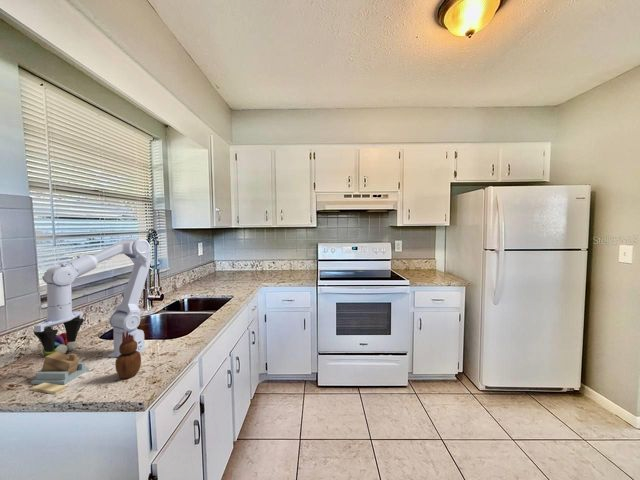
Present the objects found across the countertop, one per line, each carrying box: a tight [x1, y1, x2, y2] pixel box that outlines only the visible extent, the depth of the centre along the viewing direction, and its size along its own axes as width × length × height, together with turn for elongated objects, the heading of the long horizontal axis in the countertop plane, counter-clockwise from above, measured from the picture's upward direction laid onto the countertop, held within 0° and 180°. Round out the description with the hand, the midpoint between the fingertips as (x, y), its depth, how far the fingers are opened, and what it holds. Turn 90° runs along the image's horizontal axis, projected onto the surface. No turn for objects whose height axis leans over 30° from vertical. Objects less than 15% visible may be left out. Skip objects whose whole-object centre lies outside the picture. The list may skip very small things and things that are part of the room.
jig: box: [31, 361, 90, 386], centre depth 90 cm, size 10×9×3 cm
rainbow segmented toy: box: [40, 332, 78, 356], centre depth 108 cm, size 8×10×7 cm
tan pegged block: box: [41, 352, 80, 376], centre depth 90 cm, size 8×4×6 cm, turn 90°
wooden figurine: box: [115, 332, 142, 379], centre depth 91 cm, size 7×6×15 cm
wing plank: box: [31, 383, 68, 395], centre depth 83 cm, size 9×3×1 cm, turn 77°
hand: (60, 346), depth 90 cm, fingers open, 7 cm apart
